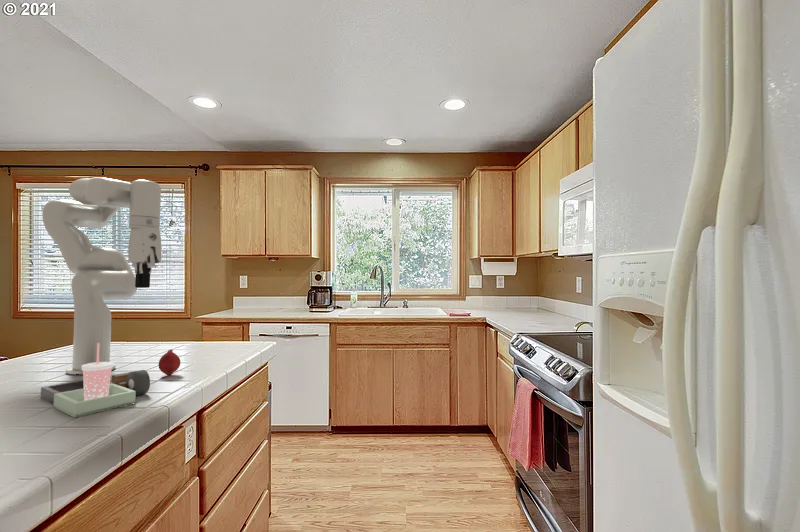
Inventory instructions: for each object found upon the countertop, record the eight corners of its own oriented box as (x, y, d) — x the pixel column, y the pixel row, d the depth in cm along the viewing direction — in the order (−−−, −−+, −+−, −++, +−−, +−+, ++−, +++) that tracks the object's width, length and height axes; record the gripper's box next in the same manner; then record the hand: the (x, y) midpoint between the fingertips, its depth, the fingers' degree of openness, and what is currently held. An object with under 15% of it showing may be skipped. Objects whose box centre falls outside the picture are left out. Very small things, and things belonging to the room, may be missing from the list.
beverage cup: (109, 404, 96) (111, 344, 96) (76, 408, 93) (79, 346, 94) (114, 397, 101) (116, 340, 102) (83, 400, 99) (85, 341, 99)
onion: (170, 378, 123) (171, 351, 123) (153, 377, 124) (154, 350, 124) (184, 374, 128) (184, 348, 128) (168, 372, 129) (168, 347, 130)
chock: (111, 392, 108) (111, 375, 108) (135, 387, 113) (136, 370, 114) (120, 395, 106) (120, 378, 106) (145, 390, 111) (145, 373, 111)
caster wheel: (124, 393, 107) (125, 370, 107) (138, 390, 109) (139, 368, 110) (136, 398, 103) (137, 374, 103) (150, 394, 106) (151, 371, 106)
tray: (53, 407, 95) (54, 394, 95) (112, 394, 105) (112, 383, 106) (75, 417, 89) (75, 403, 89) (135, 403, 99) (135, 391, 99)
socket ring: (40, 397, 102) (41, 387, 102) (87, 388, 111) (88, 378, 111) (56, 404, 97) (56, 394, 97) (104, 394, 105) (105, 385, 105)
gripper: (171, 224, 118) (169, 288, 118) (145, 226, 126) (143, 286, 126) (144, 221, 112) (141, 288, 111) (117, 223, 120) (115, 286, 119)
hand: (142, 287), depth 118 cm, fingers closed
